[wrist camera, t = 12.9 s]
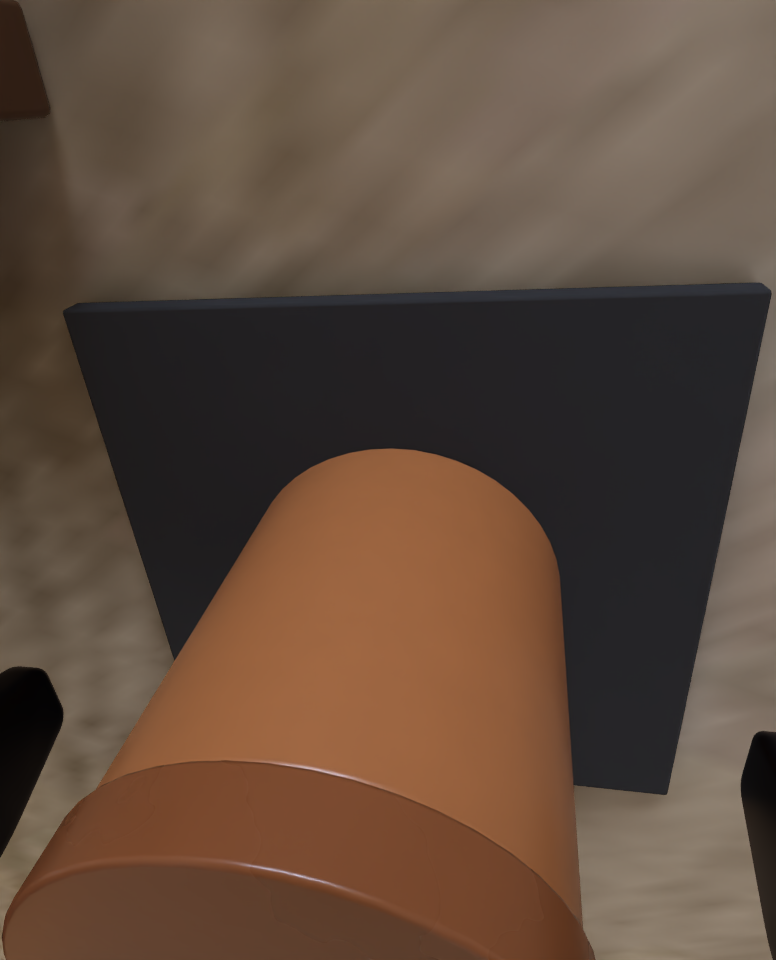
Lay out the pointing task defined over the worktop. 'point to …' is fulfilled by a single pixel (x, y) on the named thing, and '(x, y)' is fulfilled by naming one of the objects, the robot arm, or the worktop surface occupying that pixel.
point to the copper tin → (342, 747)
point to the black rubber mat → (457, 452)
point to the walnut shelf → (19, 69)
